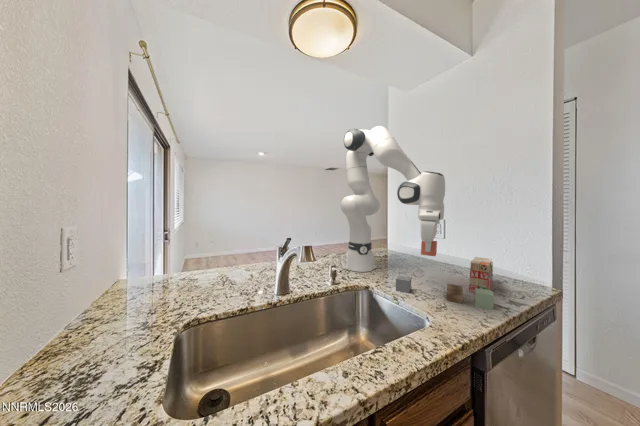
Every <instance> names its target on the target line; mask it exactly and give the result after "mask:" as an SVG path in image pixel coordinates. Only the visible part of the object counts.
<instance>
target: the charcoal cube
mask: <svg viewBox="0 0 640 426" xmlns="http://www.w3.org/2000/svg"><path fill="white" fill-rule="evenodd" d="M411 290H412V277H409V276H405V275H398V276H397V277H396V278H395V292H399V291H400V292H399V293H404V292H405V294H409V293H411Z"/></svg>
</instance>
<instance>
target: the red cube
mask: <svg viewBox="0 0 640 426" xmlns="http://www.w3.org/2000/svg"><path fill="white" fill-rule="evenodd" d="M420 245H421V247H420V255H421V256H429V257H436V256H437V251H438V250H437V249H438V241H437V240H433V241H432V242H431V251H430V252H426V251H425V241H422V240H421V244H420Z"/></svg>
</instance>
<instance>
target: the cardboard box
mask: <svg viewBox="0 0 640 426" xmlns="http://www.w3.org/2000/svg"><path fill="white" fill-rule="evenodd" d="M492 260H493V259H492V258H488V257H487V258H486V257H478V256H474V258H473V259H472V260H471V261H470V267H469V268H470V270H469V287H468V288H469V289H468V291H469V292H471V293H475V288H478V289H484V290H490V291H491V286H492V284H493V275H494V273H493V270H494V268H493V267H494V266H493V265H494V263H493V262H494V261H492Z"/></svg>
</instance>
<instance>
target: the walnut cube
mask: <svg viewBox="0 0 640 426" xmlns="http://www.w3.org/2000/svg"><path fill="white" fill-rule="evenodd" d="M463 293H464V287H463V285H459V284H451V283H446V298H445V300H446V302H451V303H456V304H461V305H463V298H464V297H463V295H464V294H463Z"/></svg>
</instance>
